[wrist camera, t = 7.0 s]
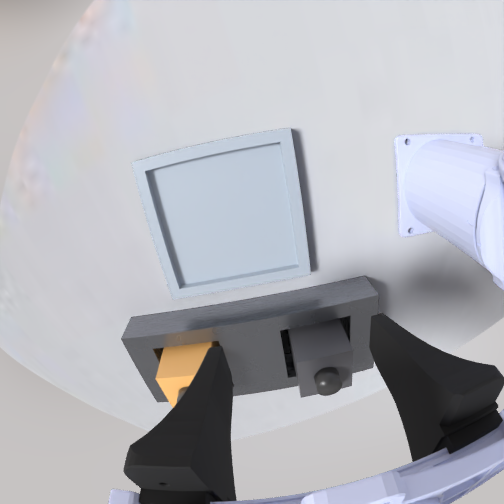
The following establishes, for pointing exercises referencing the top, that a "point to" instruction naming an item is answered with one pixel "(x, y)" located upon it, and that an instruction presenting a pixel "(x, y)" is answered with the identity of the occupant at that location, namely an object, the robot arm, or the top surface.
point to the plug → (180, 368)
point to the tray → (226, 213)
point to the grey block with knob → (321, 357)
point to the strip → (256, 333)
